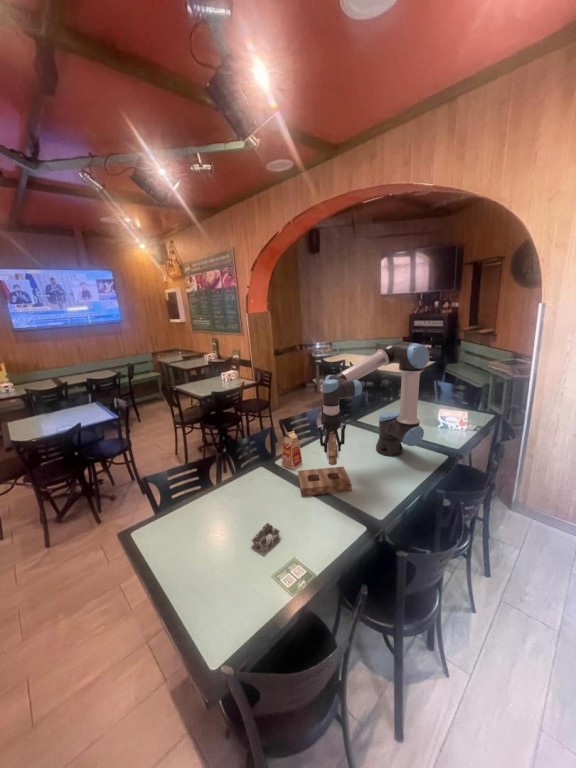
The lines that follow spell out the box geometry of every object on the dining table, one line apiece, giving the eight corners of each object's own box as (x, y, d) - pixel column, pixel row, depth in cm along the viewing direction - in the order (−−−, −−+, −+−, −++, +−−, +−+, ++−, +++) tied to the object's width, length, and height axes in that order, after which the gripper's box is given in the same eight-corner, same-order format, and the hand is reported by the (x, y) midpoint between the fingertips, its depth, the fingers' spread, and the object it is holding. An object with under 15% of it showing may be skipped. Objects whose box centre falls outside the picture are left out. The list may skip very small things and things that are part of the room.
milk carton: (294, 469, 171) (291, 435, 165) (281, 465, 176) (278, 432, 171) (303, 462, 178) (301, 429, 172) (290, 458, 183) (288, 426, 178)
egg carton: (269, 529, 127) (268, 521, 126) (283, 537, 123) (282, 528, 122) (250, 545, 120) (249, 536, 118) (264, 554, 115) (263, 545, 114)
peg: (336, 460, 155) (335, 430, 151) (337, 464, 151) (337, 434, 147) (327, 461, 154) (326, 431, 150) (329, 465, 150) (328, 435, 146)
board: (343, 473, 164) (343, 466, 162) (351, 491, 148) (351, 483, 147) (298, 477, 162) (297, 470, 161) (301, 496, 147) (301, 488, 146)
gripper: (347, 408, 150) (348, 452, 156) (312, 411, 149) (314, 455, 155) (351, 414, 143) (351, 460, 149) (314, 417, 142) (316, 463, 148)
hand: (332, 457), depth 152 cm, fingers closed on peg, 4 cm apart
